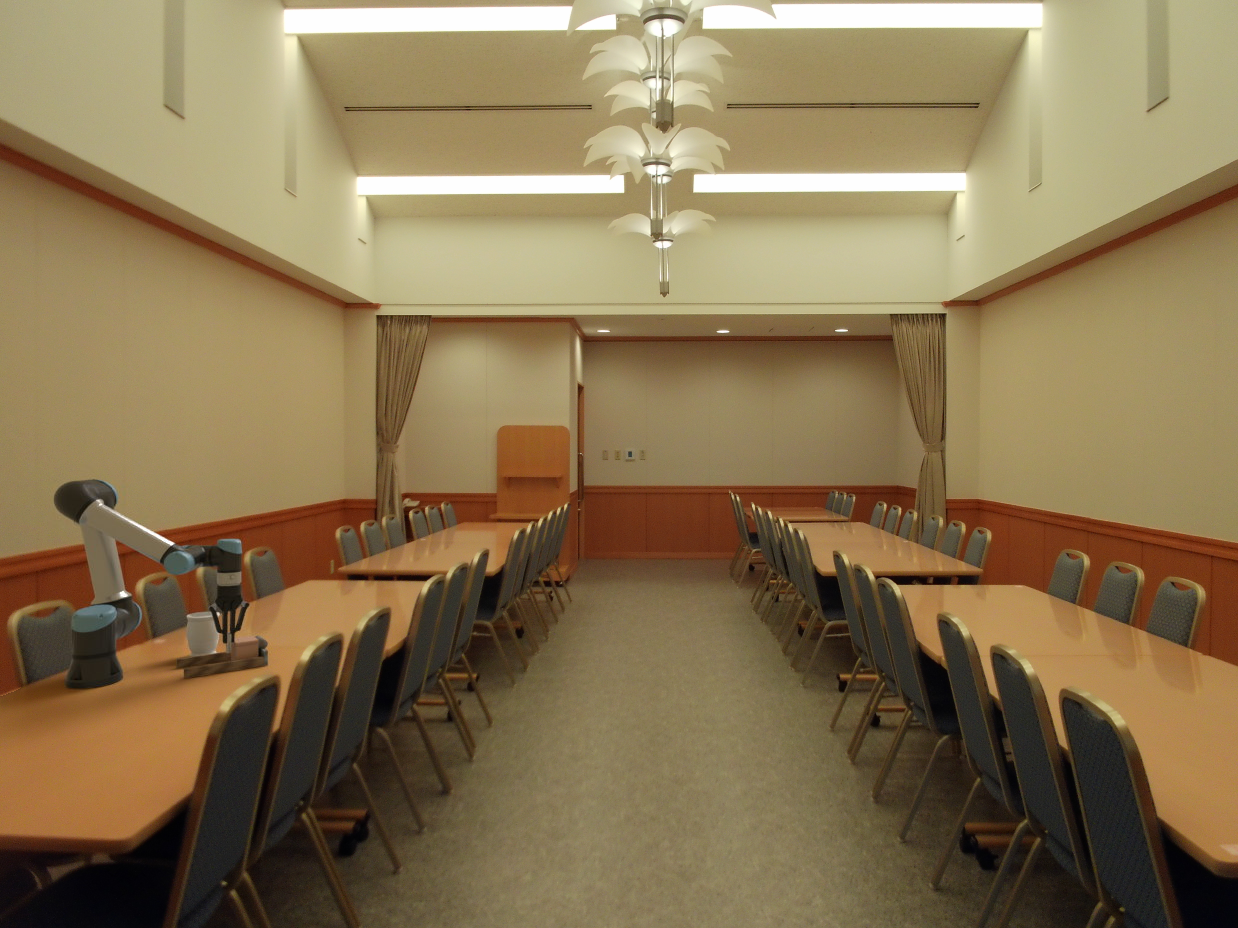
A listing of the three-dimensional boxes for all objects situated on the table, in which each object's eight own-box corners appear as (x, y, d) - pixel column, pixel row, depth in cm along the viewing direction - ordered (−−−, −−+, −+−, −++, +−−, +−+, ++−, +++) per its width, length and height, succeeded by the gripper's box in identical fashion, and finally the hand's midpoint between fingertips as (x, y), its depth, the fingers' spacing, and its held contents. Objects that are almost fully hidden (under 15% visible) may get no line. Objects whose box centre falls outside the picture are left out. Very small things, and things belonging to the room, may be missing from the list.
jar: (226, 652, 273) (226, 611, 272) (207, 659, 262) (207, 617, 262) (199, 651, 274) (198, 610, 273) (179, 658, 263) (179, 616, 263)
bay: (184, 678, 241) (184, 654, 241) (176, 667, 253) (176, 644, 253) (270, 664, 257) (270, 641, 257) (259, 654, 269) (259, 632, 269)
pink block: (236, 666, 253) (236, 643, 253) (230, 661, 260) (230, 638, 260) (259, 662, 258) (259, 640, 258) (253, 657, 264) (253, 635, 264)
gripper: (210, 587, 249) (209, 657, 249) (251, 583, 257) (251, 651, 257) (206, 584, 255) (205, 652, 255) (246, 580, 262) (246, 647, 263)
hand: (228, 652), depth 256 cm, fingers closed
